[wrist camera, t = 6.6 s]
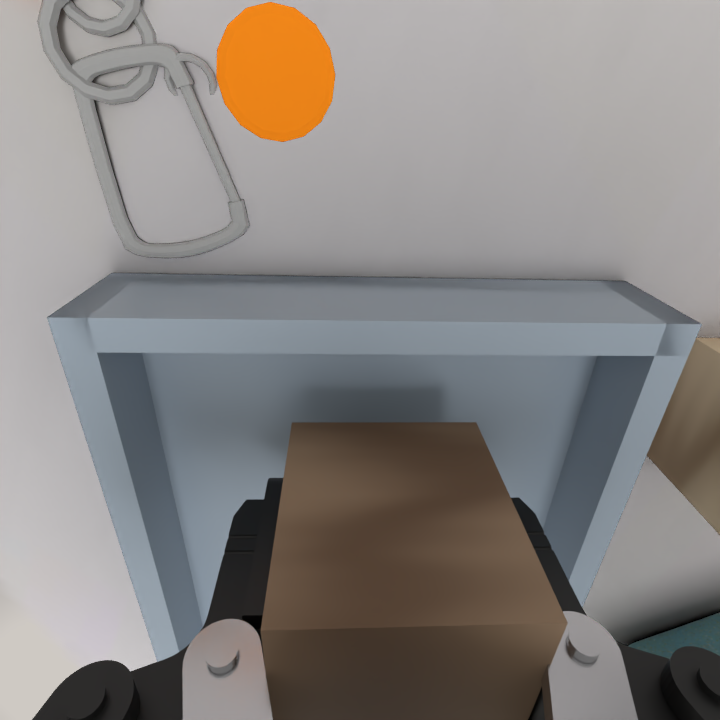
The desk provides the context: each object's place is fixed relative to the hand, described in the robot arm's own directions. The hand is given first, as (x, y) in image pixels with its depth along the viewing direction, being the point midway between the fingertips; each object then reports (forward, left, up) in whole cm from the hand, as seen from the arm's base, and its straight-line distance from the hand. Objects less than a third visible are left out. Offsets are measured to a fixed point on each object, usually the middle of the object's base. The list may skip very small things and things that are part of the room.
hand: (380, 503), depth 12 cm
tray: (-4, 0, -3) cm, 5 cm away
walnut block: (0, 0, 0) cm, 0 cm away
